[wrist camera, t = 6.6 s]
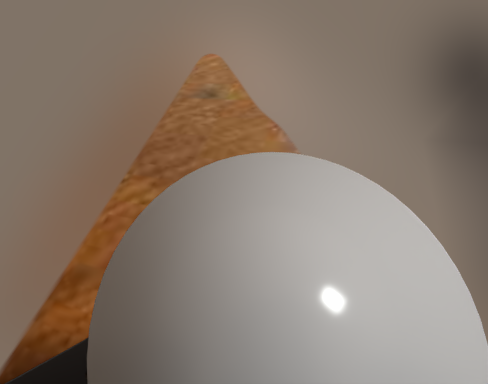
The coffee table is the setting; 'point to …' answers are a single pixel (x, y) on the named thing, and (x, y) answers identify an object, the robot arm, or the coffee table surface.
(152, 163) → the coffee table surface
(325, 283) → the white bulb-shaped piece
